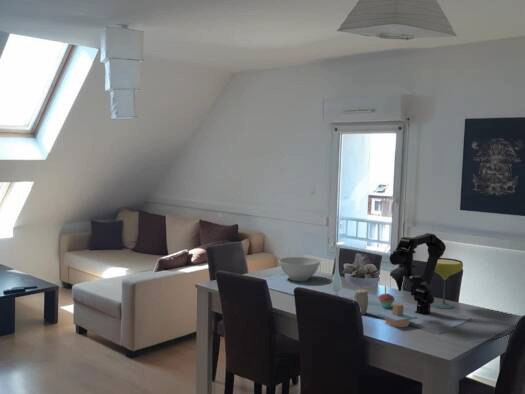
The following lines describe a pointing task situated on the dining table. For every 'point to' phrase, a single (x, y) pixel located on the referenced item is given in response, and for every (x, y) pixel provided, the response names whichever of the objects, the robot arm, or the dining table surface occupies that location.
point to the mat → (434, 327)
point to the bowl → (397, 323)
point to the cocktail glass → (447, 275)
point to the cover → (397, 314)
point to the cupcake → (386, 299)
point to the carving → (362, 299)
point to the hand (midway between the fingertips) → (405, 293)
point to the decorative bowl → (299, 267)
